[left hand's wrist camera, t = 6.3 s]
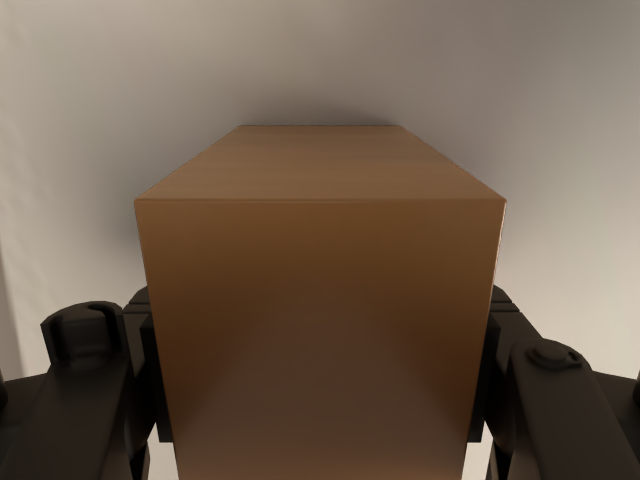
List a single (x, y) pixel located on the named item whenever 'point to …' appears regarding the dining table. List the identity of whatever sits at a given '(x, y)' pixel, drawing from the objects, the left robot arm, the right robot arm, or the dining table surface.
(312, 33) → the dining table surface
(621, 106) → the dining table surface
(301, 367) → the beam
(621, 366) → the dining table surface
